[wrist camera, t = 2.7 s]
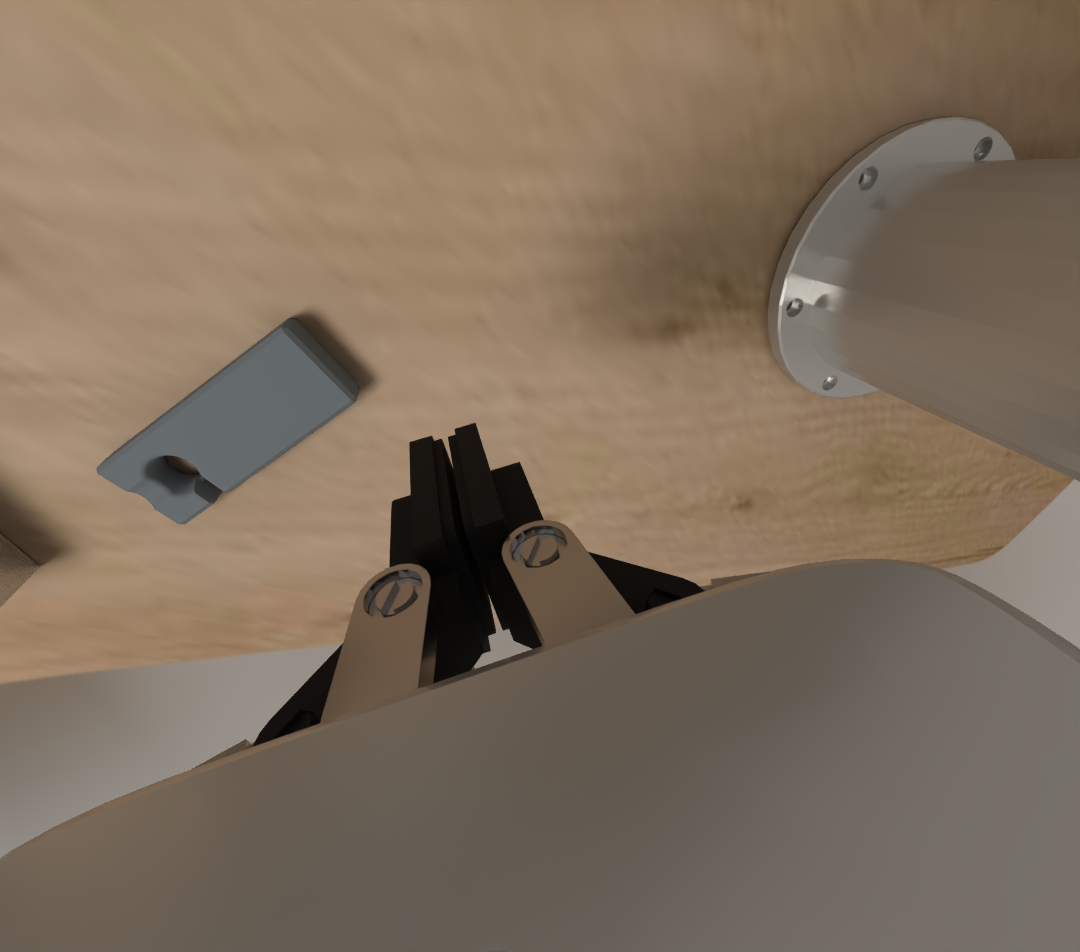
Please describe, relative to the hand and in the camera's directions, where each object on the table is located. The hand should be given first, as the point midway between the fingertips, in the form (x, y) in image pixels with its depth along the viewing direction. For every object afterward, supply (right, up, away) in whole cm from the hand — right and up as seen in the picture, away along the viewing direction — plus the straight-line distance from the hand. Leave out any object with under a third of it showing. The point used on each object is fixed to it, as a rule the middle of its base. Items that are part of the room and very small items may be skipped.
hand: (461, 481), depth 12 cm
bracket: (-12, +3, +9) cm, 15 cm away
